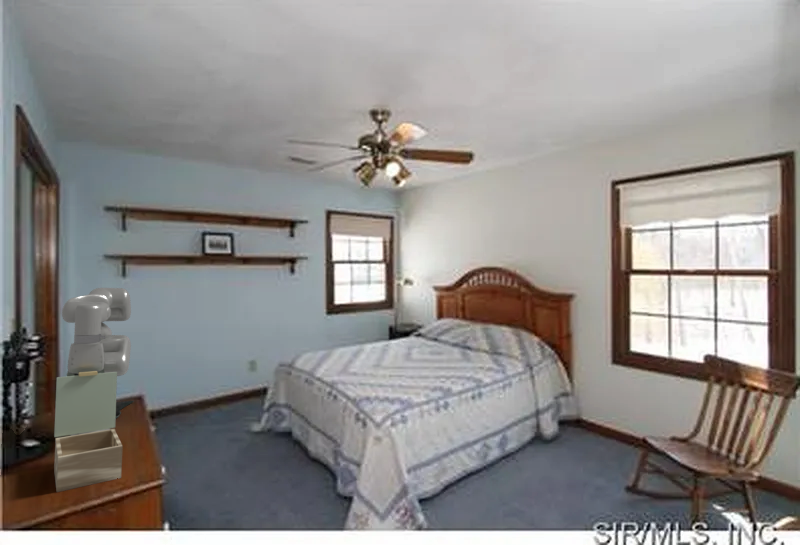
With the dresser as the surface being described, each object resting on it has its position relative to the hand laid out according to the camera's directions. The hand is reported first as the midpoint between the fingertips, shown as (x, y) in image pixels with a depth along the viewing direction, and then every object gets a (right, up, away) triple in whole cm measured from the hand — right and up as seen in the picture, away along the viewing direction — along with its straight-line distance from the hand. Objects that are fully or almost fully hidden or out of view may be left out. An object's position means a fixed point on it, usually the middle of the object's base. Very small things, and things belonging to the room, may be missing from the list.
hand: (84, 392), depth 154 cm
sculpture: (-19, -22, +45) cm, 53 cm away
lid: (+6, -2, -7) cm, 9 cm away
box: (+10, -22, -13) cm, 28 cm away
